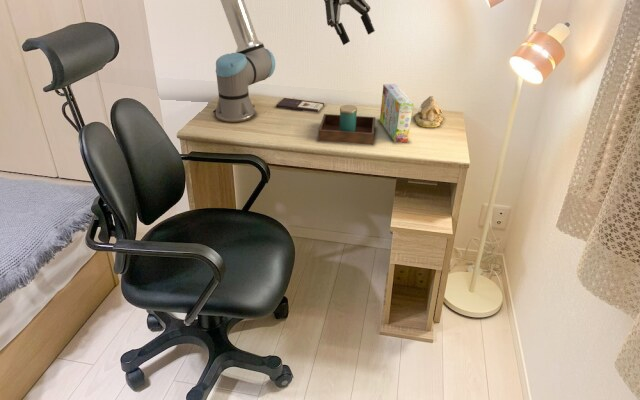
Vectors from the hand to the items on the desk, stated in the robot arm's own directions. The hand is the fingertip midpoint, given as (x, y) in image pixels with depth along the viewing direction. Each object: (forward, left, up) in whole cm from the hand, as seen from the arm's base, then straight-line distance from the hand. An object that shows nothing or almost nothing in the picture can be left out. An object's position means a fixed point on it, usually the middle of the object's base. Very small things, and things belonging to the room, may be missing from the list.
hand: (359, 38), depth 160 cm
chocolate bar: (-24, +24, -35) cm, 49 cm away
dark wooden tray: (-2, -1, -35) cm, 35 cm away
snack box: (+15, +5, -35) cm, 38 cm away
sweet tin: (-2, -1, -34) cm, 35 cm away
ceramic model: (+29, +17, -35) cm, 48 cm away
